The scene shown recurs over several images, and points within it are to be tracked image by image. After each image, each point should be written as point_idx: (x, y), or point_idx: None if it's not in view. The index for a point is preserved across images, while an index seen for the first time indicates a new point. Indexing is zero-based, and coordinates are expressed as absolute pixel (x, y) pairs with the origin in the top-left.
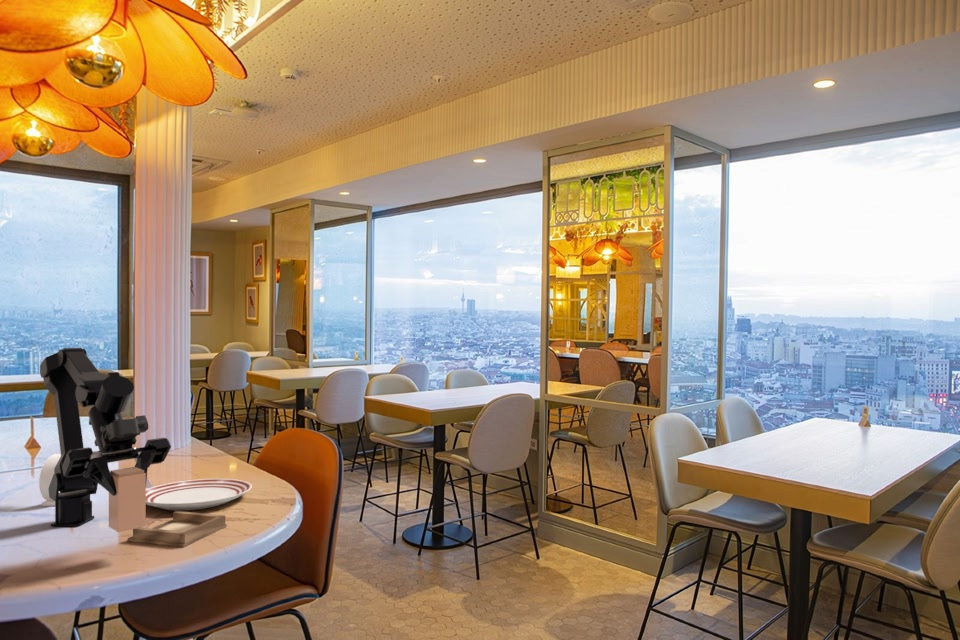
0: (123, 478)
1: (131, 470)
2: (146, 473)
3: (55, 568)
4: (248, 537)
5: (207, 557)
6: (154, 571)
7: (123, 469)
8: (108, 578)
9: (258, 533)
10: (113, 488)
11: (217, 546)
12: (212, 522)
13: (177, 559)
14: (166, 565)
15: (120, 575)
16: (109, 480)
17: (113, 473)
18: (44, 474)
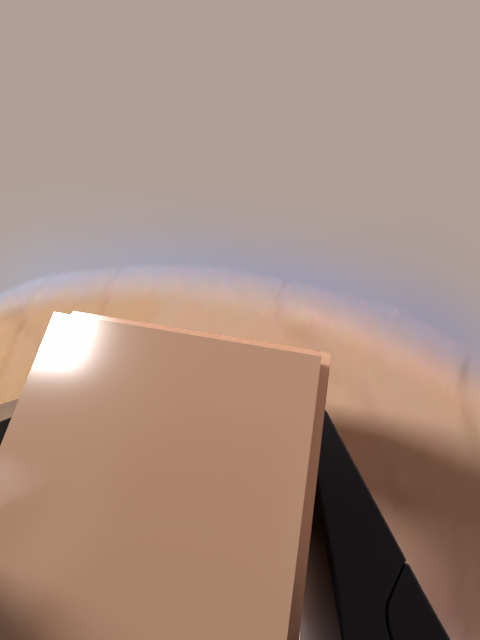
0: (275, 348)
1: (105, 440)
2: (7, 421)
3: (424, 542)
4: (35, 305)
5: (160, 270)
6: (269, 286)
7: (105, 630)
8: (354, 330)
9: (8, 309)
10: (328, 432)
11: (103, 310)
12: (9, 402)
13: (198, 310)
14: (233, 297)
15: (327, 325)
16: (361, 506)
17: (292, 587)
18: None
